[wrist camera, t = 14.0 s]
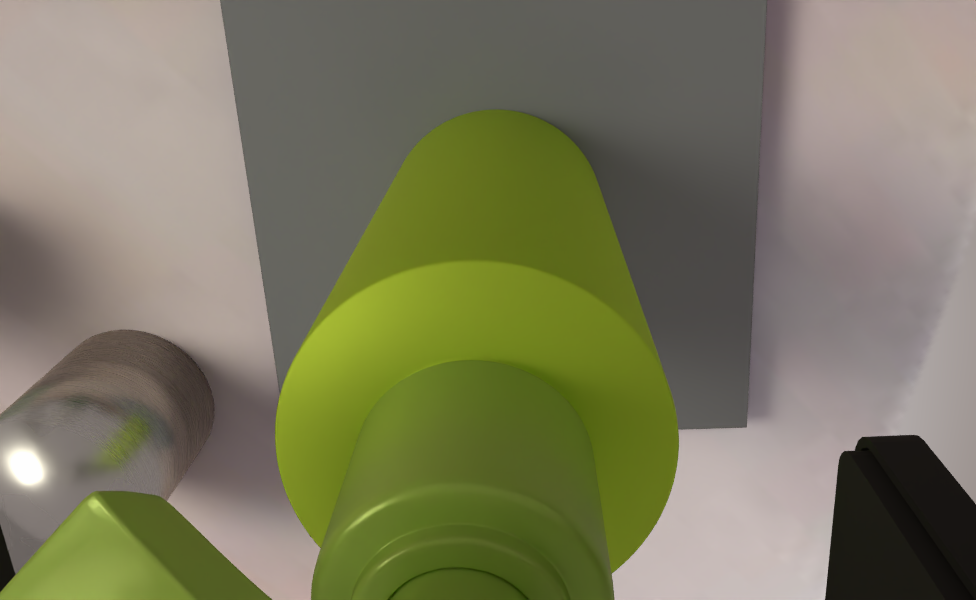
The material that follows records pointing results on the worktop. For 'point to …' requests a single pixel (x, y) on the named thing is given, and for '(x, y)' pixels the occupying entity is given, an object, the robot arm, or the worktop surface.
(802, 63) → the worktop surface
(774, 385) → the worktop surface
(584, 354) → the lime spray bottle
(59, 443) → the metal tin
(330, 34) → the plate
